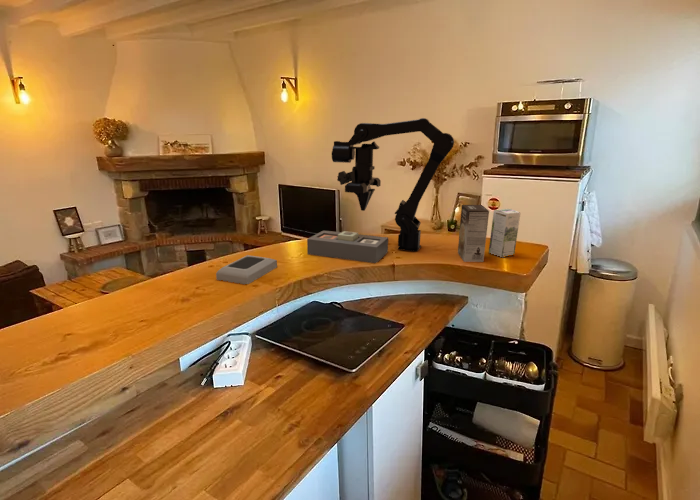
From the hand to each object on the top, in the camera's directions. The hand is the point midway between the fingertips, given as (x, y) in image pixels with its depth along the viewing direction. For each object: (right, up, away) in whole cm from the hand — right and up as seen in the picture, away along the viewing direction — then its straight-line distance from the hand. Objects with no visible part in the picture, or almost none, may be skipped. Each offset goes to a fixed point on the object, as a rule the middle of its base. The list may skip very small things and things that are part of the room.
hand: (363, 210), depth 141 cm
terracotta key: (-12, -12, -4) cm, 17 cm away
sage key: (-5, -11, -7) cm, 14 cm away
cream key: (+1, -14, -9) cm, 16 cm away
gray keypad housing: (-5, -14, -6) cm, 16 cm away
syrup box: (+44, -15, -6) cm, 47 cm away
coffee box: (+33, -16, -9) cm, 38 cm away
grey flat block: (-33, -20, -24) cm, 45 cm away
